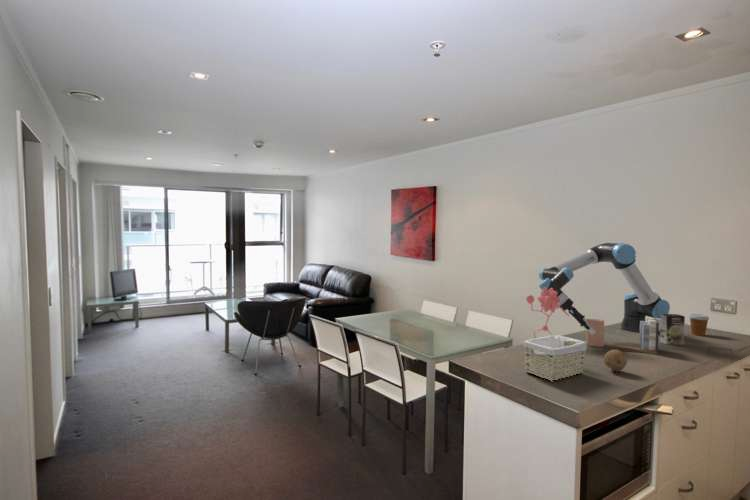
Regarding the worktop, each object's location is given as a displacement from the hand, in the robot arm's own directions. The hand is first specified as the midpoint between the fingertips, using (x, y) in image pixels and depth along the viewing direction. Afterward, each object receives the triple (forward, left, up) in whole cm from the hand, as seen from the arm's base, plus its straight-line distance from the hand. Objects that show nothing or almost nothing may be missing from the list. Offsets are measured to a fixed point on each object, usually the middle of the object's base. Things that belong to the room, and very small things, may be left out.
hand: (592, 330), depth 225 cm
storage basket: (+57, -20, -8) cm, 61 cm away
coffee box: (-22, +41, -8) cm, 47 cm away
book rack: (-1, +20, -8) cm, 22 cm away
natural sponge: (+44, +5, -8) cm, 45 cm away
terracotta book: (-1, +1, -8) cm, 8 cm away
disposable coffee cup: (-51, +61, -8) cm, 80 cm away
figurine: (+32, -22, -8) cm, 40 cm away
